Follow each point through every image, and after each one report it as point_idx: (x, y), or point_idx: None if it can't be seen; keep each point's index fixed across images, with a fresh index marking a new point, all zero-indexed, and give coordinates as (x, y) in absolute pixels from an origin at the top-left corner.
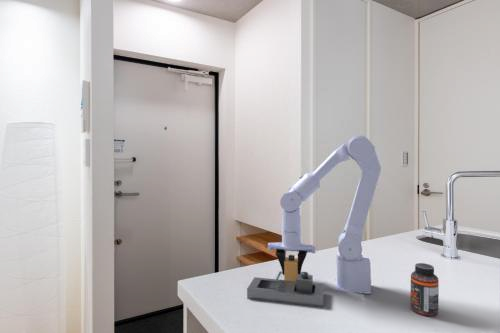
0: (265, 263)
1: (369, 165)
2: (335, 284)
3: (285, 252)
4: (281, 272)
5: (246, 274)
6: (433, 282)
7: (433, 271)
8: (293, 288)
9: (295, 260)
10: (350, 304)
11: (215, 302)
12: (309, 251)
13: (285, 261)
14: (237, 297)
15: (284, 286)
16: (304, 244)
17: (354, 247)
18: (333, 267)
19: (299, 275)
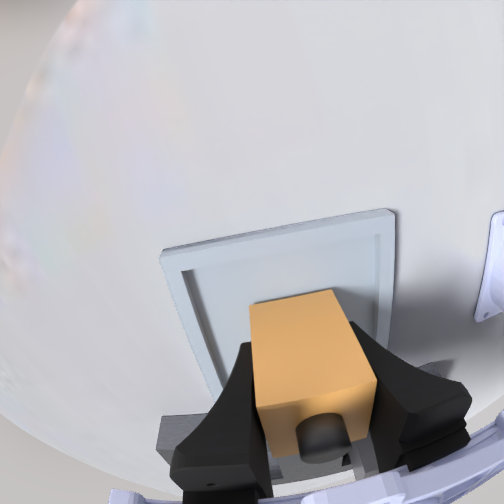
0: (21, 122)
1: None
2: (485, 283)
3: (253, 446)
4: (194, 265)
5: (44, 325)
6: None
7: None
8: (339, 458)
9: (351, 425)
10: (480, 367)
11: (138, 474)
12: (477, 442)
13: (282, 456)
14: (163, 459)
15: (305, 463)
16: (477, 470)
17: None
18: (465, 24)
19: (371, 475)
